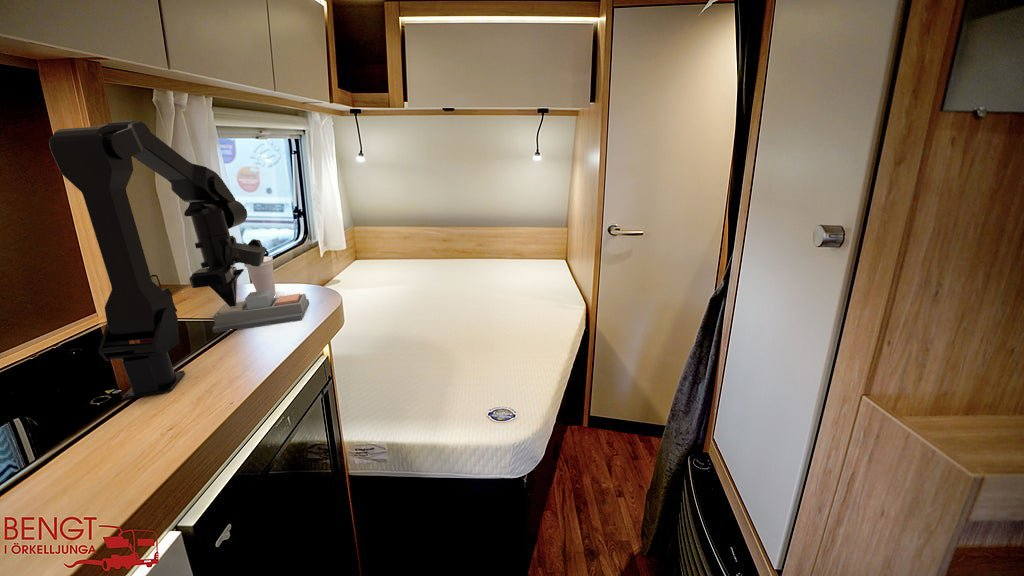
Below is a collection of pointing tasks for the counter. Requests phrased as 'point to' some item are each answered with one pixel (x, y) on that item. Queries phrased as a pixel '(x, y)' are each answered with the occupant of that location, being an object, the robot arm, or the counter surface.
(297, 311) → the keypad
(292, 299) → the key terracotta
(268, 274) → the smoothie
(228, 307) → the key ivory
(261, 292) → the key slate
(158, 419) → the counter surface
